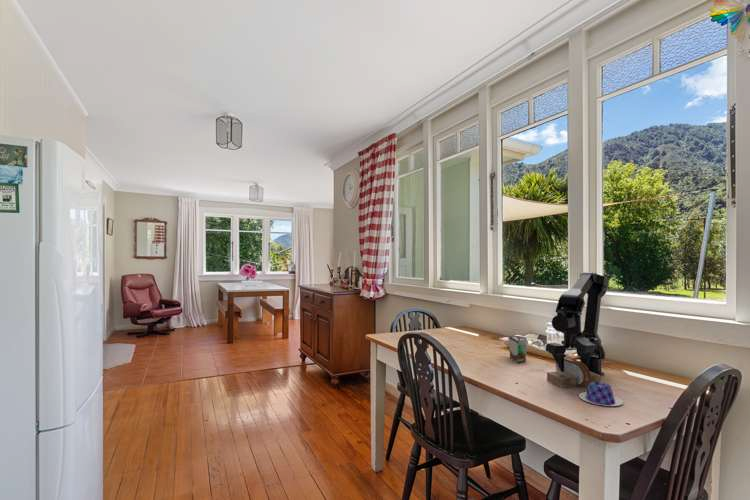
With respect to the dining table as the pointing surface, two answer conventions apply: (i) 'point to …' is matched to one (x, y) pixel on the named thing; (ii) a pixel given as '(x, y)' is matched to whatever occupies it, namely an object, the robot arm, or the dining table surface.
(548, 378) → the slotted rail
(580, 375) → the tin
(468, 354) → the dining table surface
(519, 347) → the food container
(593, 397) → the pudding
